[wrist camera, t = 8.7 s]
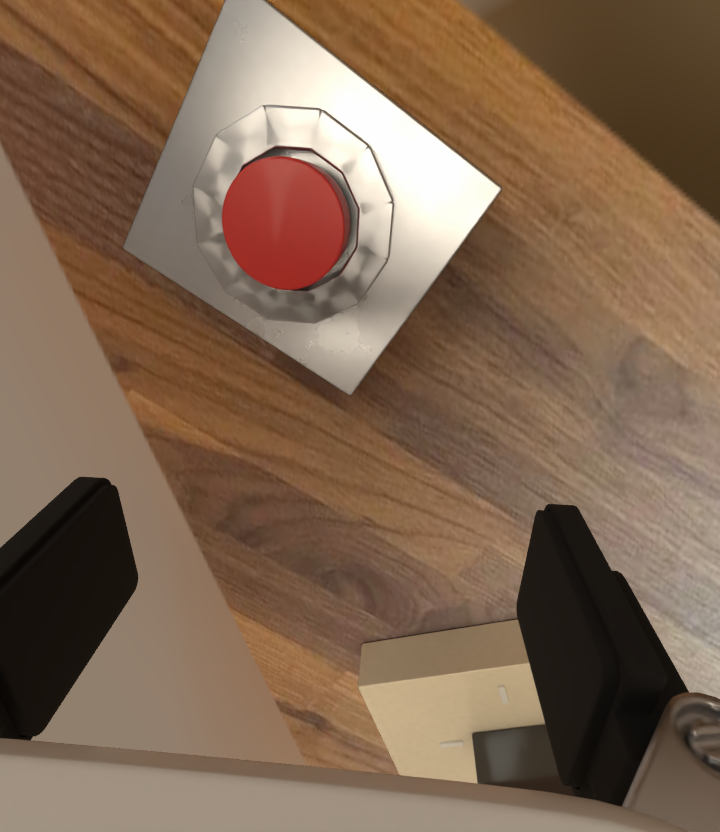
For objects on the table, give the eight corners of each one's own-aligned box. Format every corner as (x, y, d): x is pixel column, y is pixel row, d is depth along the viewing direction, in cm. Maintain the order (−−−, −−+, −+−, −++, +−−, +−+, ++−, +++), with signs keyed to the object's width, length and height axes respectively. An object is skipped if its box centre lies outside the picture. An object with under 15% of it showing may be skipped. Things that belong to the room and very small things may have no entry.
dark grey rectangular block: (477, 749, 30) (490, 855, 25) (471, 733, 29) (483, 839, 25) (562, 739, 29) (592, 848, 24) (557, 722, 28) (587, 831, 23)
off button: (218, 238, 18) (200, 244, 16) (272, 131, 16) (257, 126, 14) (312, 302, 18) (303, 313, 17) (373, 206, 17) (369, 208, 15)
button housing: (147, 242, 21) (94, 254, 18) (253, -3, 17) (213, -51, 14) (355, 379, 23) (345, 415, 20) (494, 187, 19) (514, 188, 16)
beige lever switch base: (412, 756, 36) (413, 806, 33) (361, 643, 31) (357, 689, 28) (646, 732, 32) (669, 784, 30) (628, 601, 28) (653, 649, 25)
